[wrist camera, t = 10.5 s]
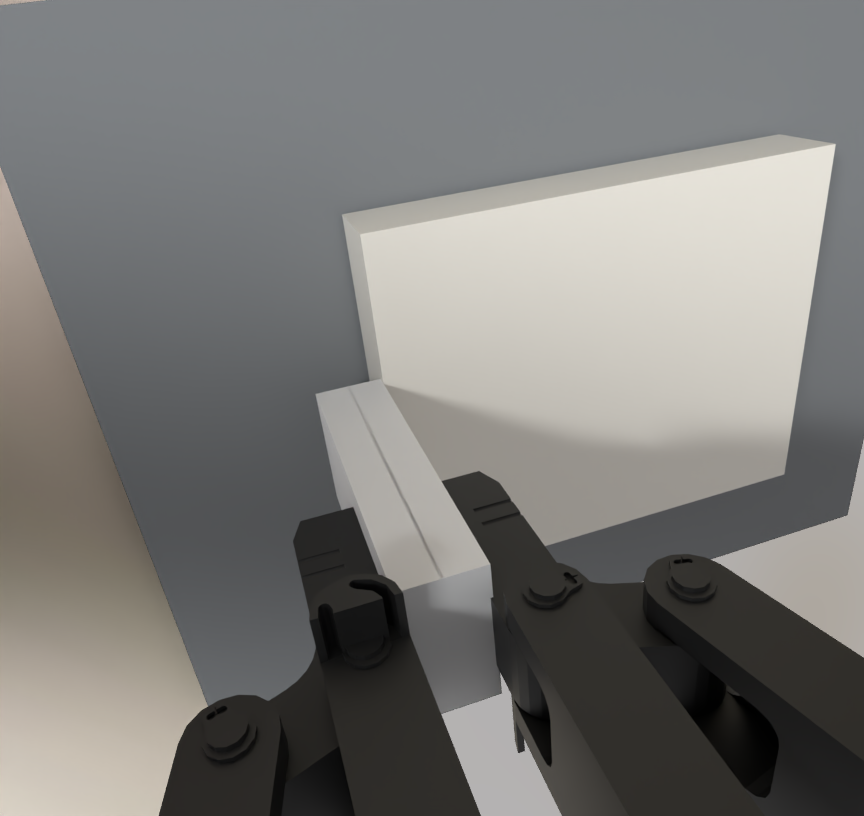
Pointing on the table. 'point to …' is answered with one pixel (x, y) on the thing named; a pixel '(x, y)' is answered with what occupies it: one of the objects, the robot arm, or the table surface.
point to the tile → (601, 326)
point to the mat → (328, 253)
